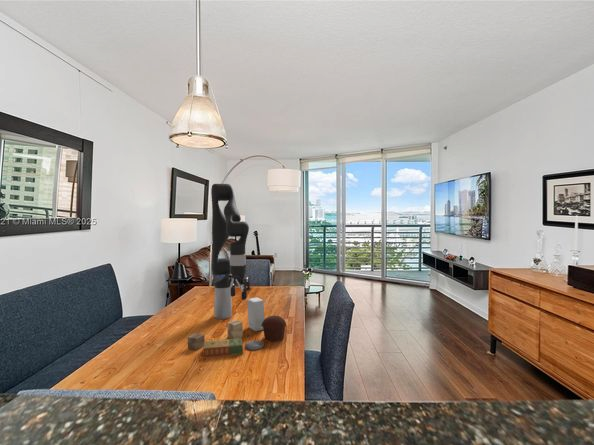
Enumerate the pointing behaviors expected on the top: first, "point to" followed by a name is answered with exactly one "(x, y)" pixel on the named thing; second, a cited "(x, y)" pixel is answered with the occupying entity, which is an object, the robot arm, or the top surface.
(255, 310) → the skincare box
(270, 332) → the muffin
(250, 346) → the grey disc
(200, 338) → the walnut block
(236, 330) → the oak block
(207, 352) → the carton
